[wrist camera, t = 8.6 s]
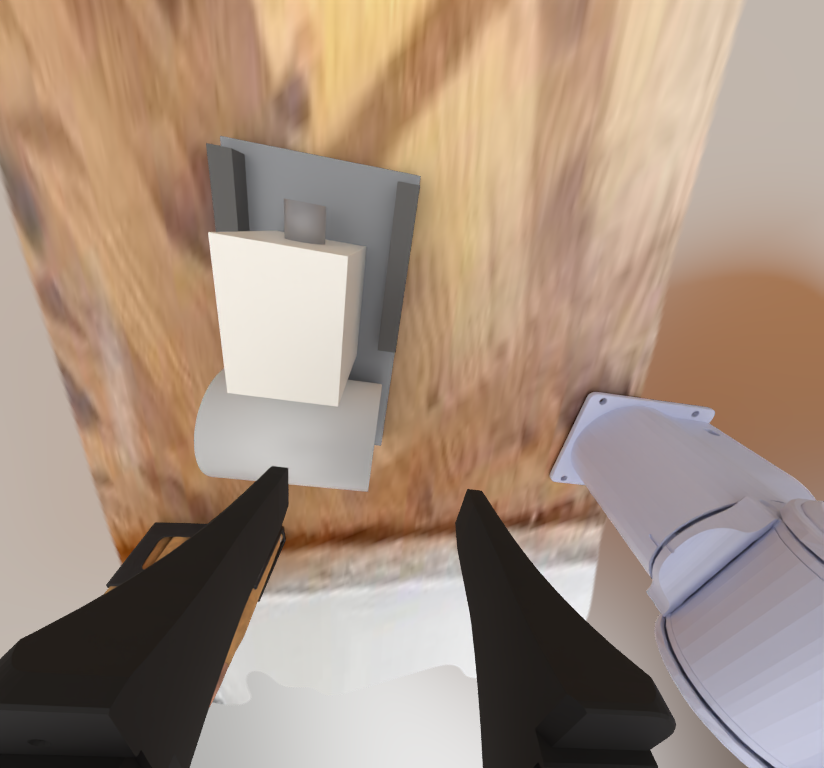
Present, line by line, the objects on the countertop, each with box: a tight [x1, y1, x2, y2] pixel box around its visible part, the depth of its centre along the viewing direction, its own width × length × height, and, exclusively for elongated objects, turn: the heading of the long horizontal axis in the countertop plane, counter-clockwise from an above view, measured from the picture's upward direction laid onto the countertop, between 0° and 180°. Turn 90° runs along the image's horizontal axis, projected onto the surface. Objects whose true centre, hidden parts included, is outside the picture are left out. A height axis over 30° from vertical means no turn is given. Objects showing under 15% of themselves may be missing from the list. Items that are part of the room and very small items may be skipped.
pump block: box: [208, 199, 366, 407], centre depth 14 cm, size 4×7×6 cm, turn 171°
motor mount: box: [194, 136, 421, 492], centre depth 15 cm, size 9×16×7 cm, turn 171°
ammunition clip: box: [105, 523, 286, 707], centre depth 21 cm, size 11×2×12 cm, turn 86°
